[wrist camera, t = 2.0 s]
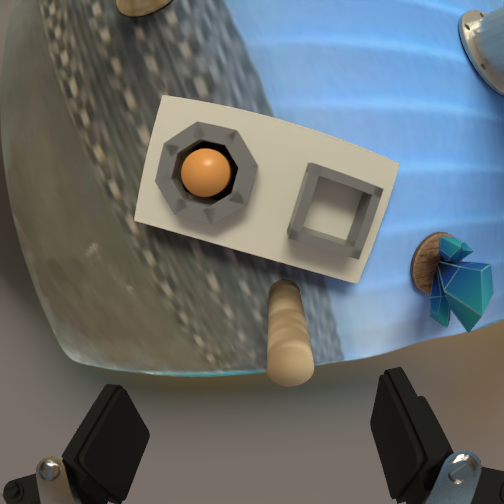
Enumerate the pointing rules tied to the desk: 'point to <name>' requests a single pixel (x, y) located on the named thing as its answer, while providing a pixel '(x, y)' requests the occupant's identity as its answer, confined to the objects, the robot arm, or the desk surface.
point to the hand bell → (140, 6)
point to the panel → (269, 188)
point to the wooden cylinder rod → (287, 336)
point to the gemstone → (451, 279)
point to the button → (206, 172)
